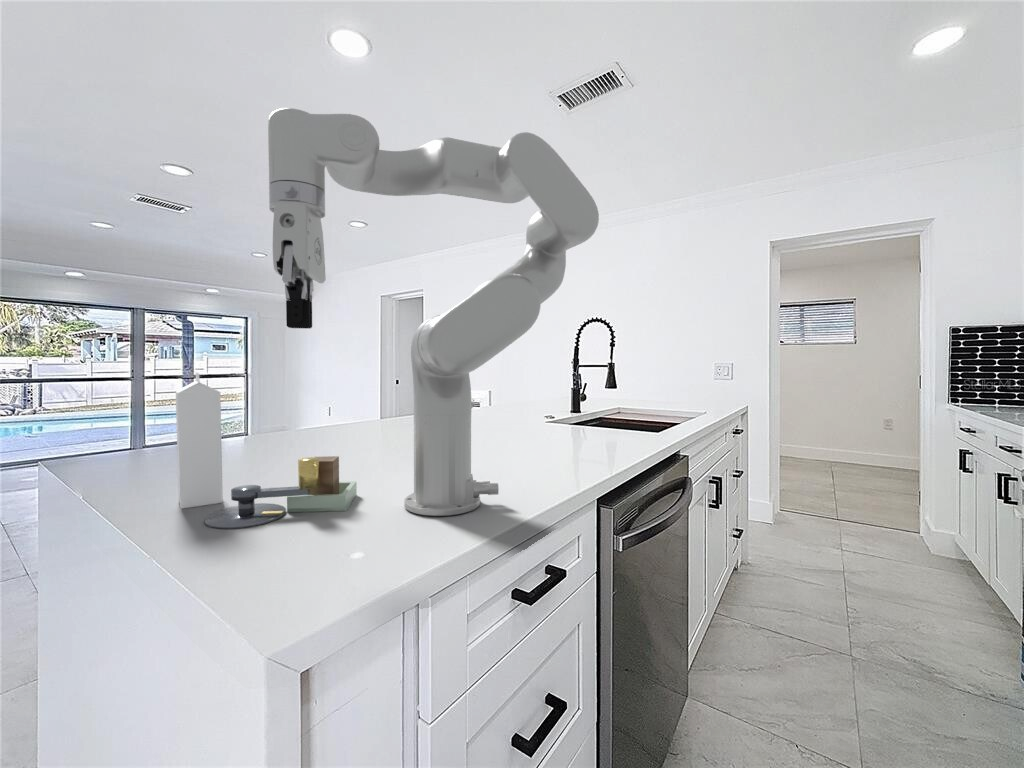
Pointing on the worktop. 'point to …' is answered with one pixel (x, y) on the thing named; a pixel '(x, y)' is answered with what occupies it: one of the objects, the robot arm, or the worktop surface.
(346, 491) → the tray
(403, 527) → the worktop surface
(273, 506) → the crank base
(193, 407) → the milk
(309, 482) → the crank
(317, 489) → the block
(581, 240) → the robot arm
